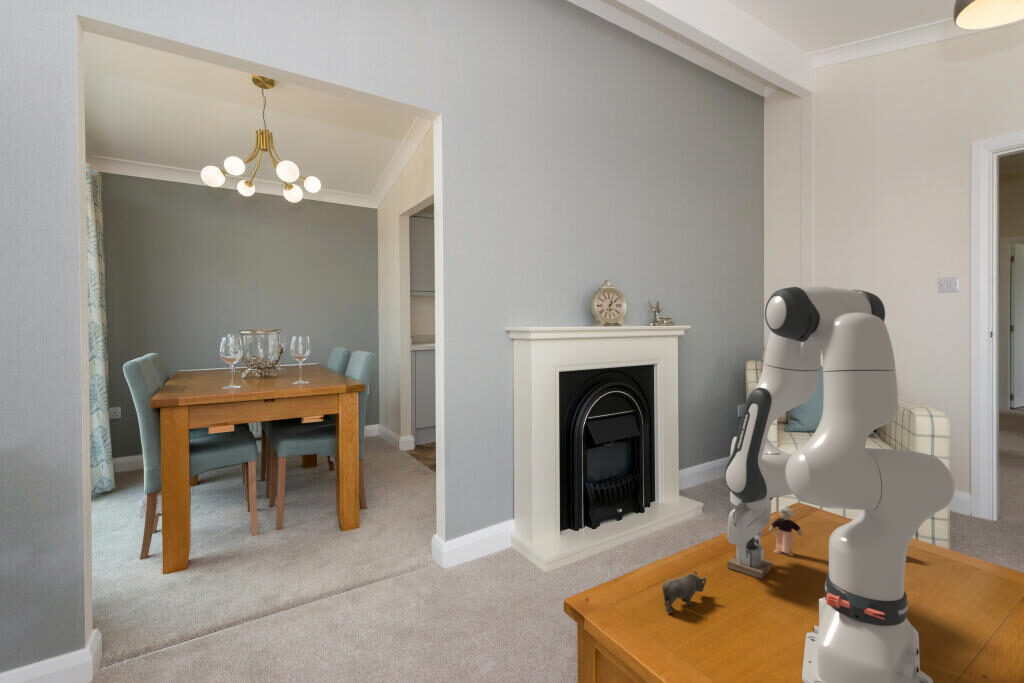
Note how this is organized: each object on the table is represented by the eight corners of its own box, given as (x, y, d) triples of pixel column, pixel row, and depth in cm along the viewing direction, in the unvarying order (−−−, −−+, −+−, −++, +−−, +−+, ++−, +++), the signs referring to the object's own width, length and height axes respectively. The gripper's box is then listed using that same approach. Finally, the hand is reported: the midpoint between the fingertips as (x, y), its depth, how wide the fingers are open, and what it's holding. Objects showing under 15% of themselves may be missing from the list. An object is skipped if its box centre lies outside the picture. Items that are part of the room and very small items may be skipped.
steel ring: (758, 569, 117) (758, 553, 117) (733, 562, 122) (733, 546, 121) (766, 561, 122) (765, 545, 122) (741, 554, 126) (741, 539, 126)
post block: (761, 579, 116) (761, 539, 116) (727, 567, 122) (727, 530, 121) (772, 567, 122) (772, 530, 121) (739, 557, 127) (739, 521, 127)
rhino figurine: (714, 597, 108) (714, 571, 108) (671, 615, 102) (671, 587, 102) (699, 589, 112) (699, 563, 112) (656, 606, 105) (656, 579, 105)
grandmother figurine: (771, 554, 129) (771, 507, 128) (768, 548, 132) (768, 502, 132) (804, 558, 126) (804, 510, 126) (799, 551, 130) (799, 505, 130)
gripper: (747, 511, 112) (748, 570, 112) (775, 490, 126) (776, 542, 126) (720, 504, 116) (720, 561, 116) (750, 485, 131) (750, 535, 131)
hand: (749, 551), depth 121 cm, fingers open, 8 cm apart
